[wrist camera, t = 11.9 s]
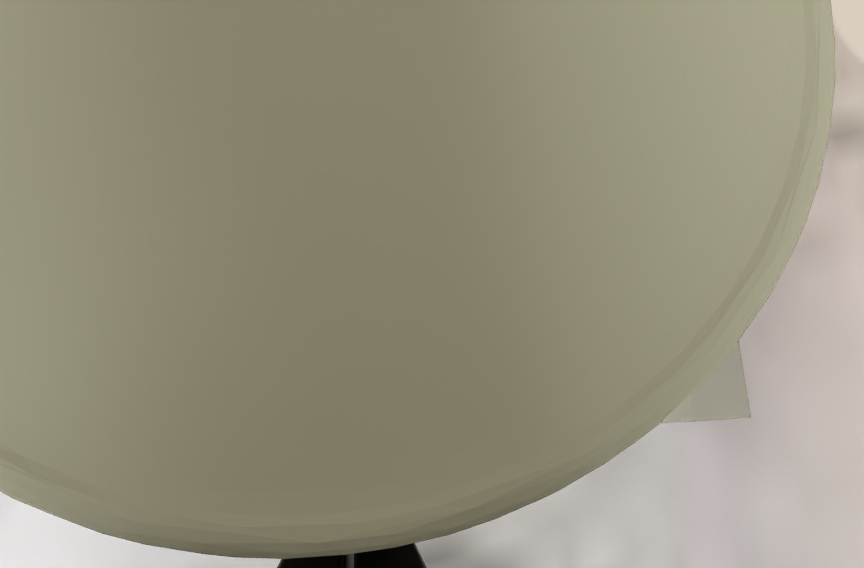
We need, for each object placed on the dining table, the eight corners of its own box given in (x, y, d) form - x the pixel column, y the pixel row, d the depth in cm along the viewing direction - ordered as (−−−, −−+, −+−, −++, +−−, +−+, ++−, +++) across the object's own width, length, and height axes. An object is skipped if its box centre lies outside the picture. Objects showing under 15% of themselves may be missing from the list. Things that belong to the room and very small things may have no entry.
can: (585, 167, 18) (942, -348, 6) (501, 520, 16) (800, 769, 4) (252, 76, 18) (-26, -601, 6) (125, 414, 16) (-651, 355, 4)
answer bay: (704, 419, 16) (770, 416, 14) (22, 464, 15) (-65, 471, 13) (644, 15, 19) (688, -62, 16) (51, 31, 18) (-17, -48, 15)
